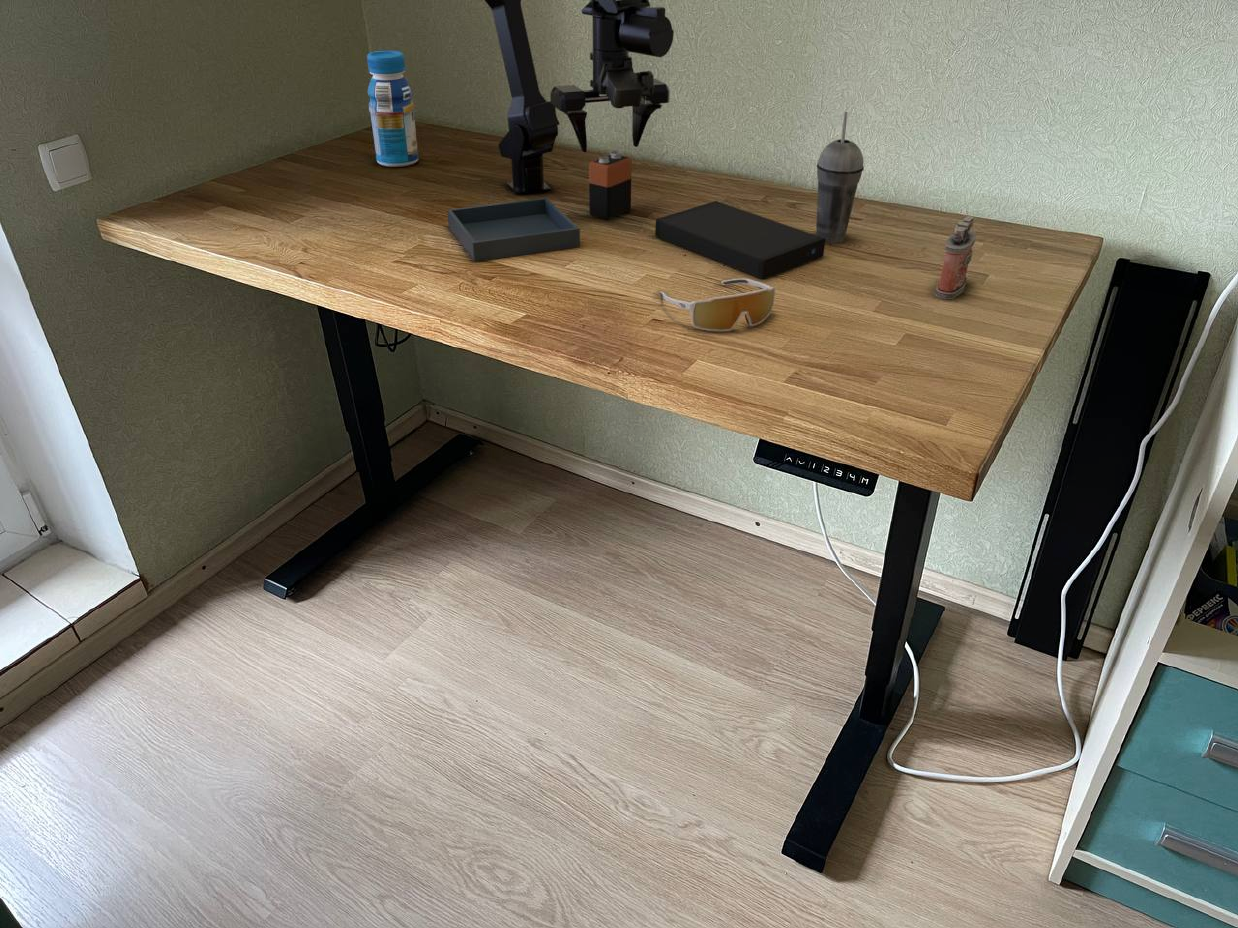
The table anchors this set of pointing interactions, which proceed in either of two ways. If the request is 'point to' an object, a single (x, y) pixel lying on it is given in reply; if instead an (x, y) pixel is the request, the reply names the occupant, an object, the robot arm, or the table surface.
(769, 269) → the external hard drive
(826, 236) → the beverage cup
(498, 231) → the tray
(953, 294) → the lighter
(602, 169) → the battery
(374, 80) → the beverage bottle
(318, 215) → the table surface
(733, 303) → the sunglasses
